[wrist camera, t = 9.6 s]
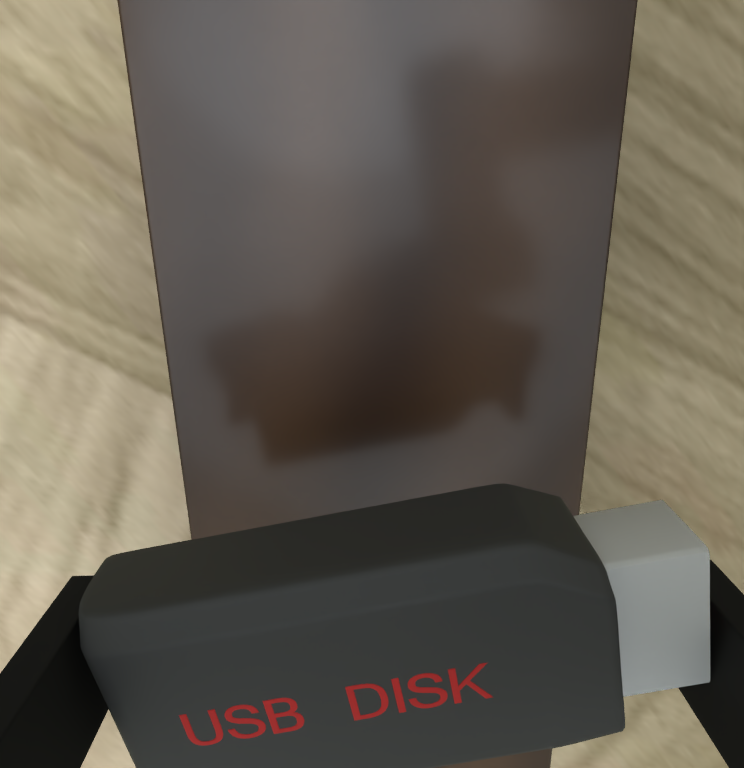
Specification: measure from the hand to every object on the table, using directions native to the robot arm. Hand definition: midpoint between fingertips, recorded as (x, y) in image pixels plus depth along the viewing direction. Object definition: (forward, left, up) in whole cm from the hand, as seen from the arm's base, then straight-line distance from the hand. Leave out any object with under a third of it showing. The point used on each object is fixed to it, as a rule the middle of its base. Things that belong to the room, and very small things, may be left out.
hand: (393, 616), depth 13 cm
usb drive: (0, 0, 0) cm, 0 cm away
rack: (0, 0, -15) cm, 15 cm away
